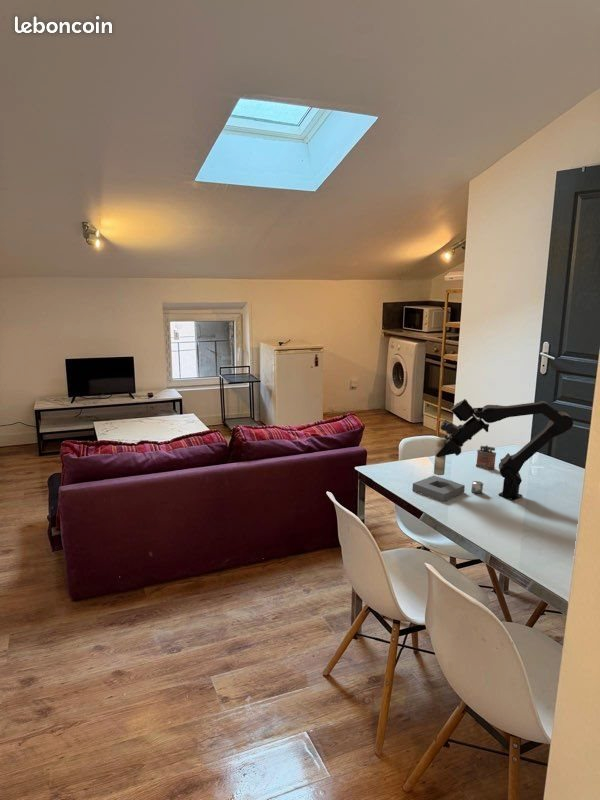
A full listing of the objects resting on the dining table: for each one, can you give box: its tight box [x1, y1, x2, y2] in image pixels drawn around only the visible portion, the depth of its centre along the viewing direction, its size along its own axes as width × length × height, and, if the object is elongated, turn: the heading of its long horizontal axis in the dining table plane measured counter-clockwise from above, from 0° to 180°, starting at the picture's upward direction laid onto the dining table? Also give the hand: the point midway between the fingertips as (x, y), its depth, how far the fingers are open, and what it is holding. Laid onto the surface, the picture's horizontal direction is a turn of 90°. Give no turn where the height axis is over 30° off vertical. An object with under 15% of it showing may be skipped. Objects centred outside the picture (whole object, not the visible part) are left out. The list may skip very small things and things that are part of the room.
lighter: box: [475, 445, 497, 471], centre depth 230 cm, size 8×3×10 cm, turn 55°
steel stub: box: [471, 480, 484, 496], centre depth 203 cm, size 4×4×4 cm
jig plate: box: [411, 475, 466, 502], centre depth 203 cm, size 14×14×3 cm
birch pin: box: [433, 437, 447, 476], centre depth 205 cm, size 4×4×14 cm
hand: (436, 454), depth 205 cm, fingers closed on birch pin, 4 cm apart
